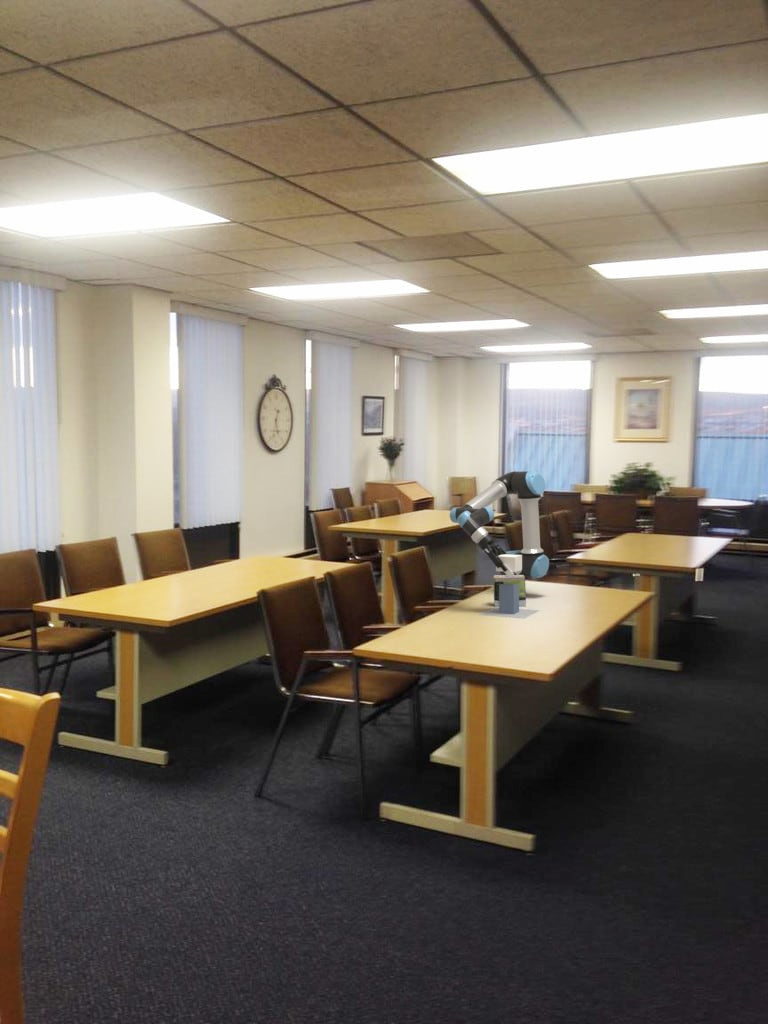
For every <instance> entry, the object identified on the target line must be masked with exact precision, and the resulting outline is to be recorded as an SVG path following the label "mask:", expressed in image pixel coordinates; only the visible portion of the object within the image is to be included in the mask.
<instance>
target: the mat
mask: <svg viewBox="0 0 768 1024" xmlns="http://www.w3.org/2000/svg"><path fill="white" fill-rule="evenodd" d="M540 611H541V610H540V609H539V610H537V609H529V608H528V609H526V608H525V609H524V608H519V612H518V613H516V614H502V613H499V607H495V606H494V607H492V608H491V609H488V610H486V611H483V612H481V613H479V614H478V616H485V617H486V616H487V617H499V618H511V619H526V618H528V617H530V616H533V615H534V614H537V613H538V612H540Z"/></svg>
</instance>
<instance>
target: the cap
mask: <svg viewBox="0 0 768 1024" xmlns="http://www.w3.org/2000/svg"><path fill="white" fill-rule="evenodd" d="M496 557H499V558H500V559H501V561H502V562H503V564H504V563H505V564H506V566H507V567H508V568H509V569H510V570H511V571H512V572H517V571H520V570H522V555H510V554H504V555H499V556H496ZM500 571H503V570H502V569H501V568H500V567H499V568H497V566H496V565H495V572H500ZM503 572H504V571H503Z"/></svg>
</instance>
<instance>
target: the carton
mask: <svg viewBox="0 0 768 1024" xmlns="http://www.w3.org/2000/svg"><path fill="white" fill-rule="evenodd" d="M519 609H520V607H519V584H510V583H504V584H501V585H499V613H502V614H516V613H518V612H519Z"/></svg>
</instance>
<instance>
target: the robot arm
mask: <svg viewBox="0 0 768 1024" xmlns="http://www.w3.org/2000/svg"><path fill="white" fill-rule="evenodd" d="M545 489H546V481H545V478H544V477H543V475H542V474H541V473H540V472H538V471H532V470H530V471H528V470H527V471H515V470H514V471H510V472H507V473H505V474H503V475H501V476H499V477H498V478H496V479H494V481H492V482H491V484H490V486H488V487H486V489H484V490H483V491H481V492H480V493H479V494H477V495H476V496H474V497H473V498H472V499H470V500H469V501H468V502H466V503H465V504H464V505H462V506H460V507H457V506H456V507H454V508H451V510H450V513H449V518H450V521H451V522H452V523H455V524H458V525H459V527H461V529H463V531H464V532H465V533H466V534H467V535H468V536H469V537H470V538H471V539H472V541H473V542H474V543H475V544H477V546H478V547H479V548H480V549H481V550H482V551H484V553H485V554H486V555H487V556H488V557H489V559H490V560H491V561H492V563H493V564H494V565H495V567H496V566H497V568H499V567H500V568H501V569H502V570H503V571H504V572H503V571H499V575H507V576H508V577H509V578H511V577H512V576H513V575H524V577H525V578H526V577H528V578H535V579H536V578H542V577H544V576H545V575H546V574H547V572H548V570H549V566H550V560H549V557H548V556H547V555H545V553H544V551H545V550H544V549H543V548H542V547H541V534H540V533H541V532H540V514H539V513H540V512H539V500H540V499H541V498H542V494H543V493H544V492H545ZM508 495H517V500H518V501H519V502H520V506H521V507H520V510H521V527H522V545H523V548H522V549H521V550H519V549H518V550H508V551H505V550H504V549H503V548H502V547H501V546H500V545H499V544H497V545H496V544H495V543H494V541H495V538H494V537H493V536H492V535H491V534H489V531H487V529H486V528H485V527H484V525H486V524H489V523H490V522H492V521H493V520H494V518H495V511H494V510H493V508H492V507H490V506H491V505H492V504H493V503H494V502H496V501H498V500H499V499H501V498H505V497H506V496H508ZM504 554H510V555H522V570H520V571H517V572H512V571H511V570H510V569H509V568H508V567H507V566H506V564H505V563H504V564H503V562H502V561H501V559H500V558H499V557H496V556H499V555H504ZM525 591H526V592H527V589H526V588H525Z"/></svg>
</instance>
